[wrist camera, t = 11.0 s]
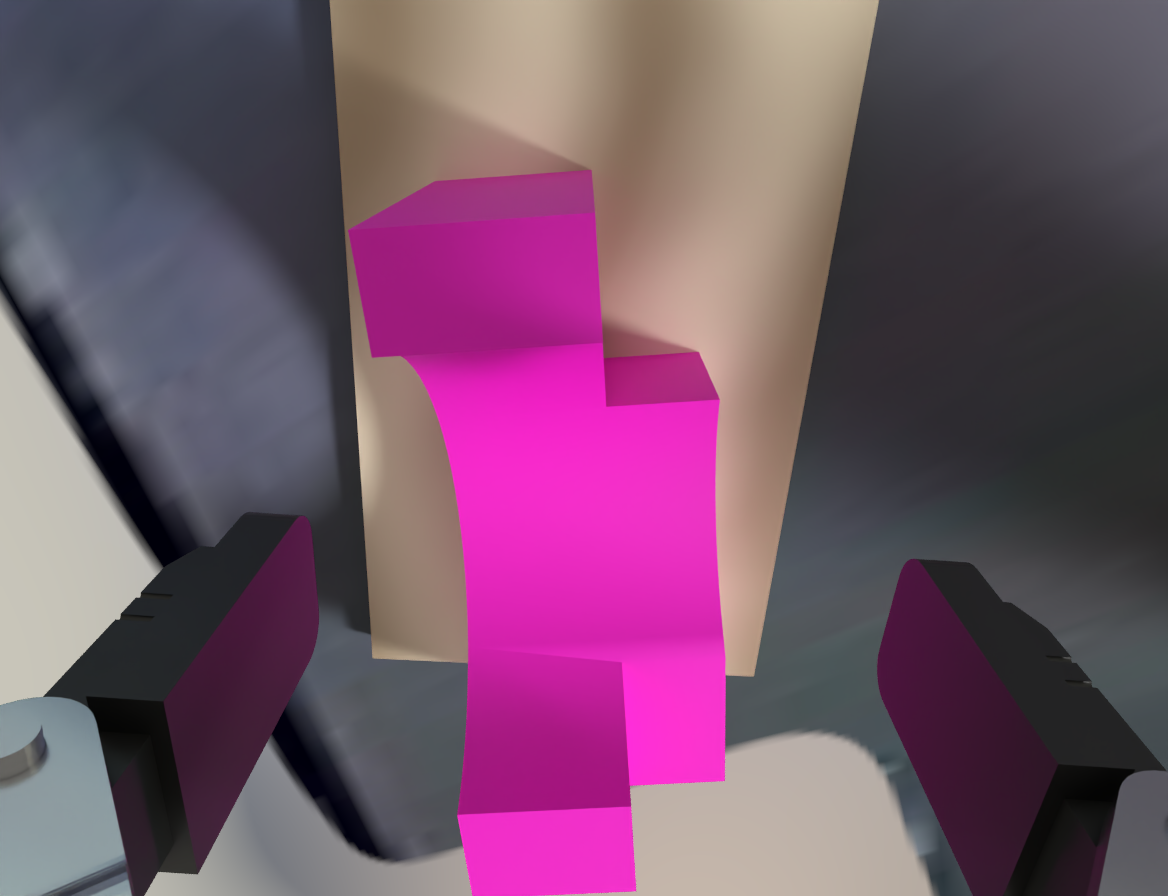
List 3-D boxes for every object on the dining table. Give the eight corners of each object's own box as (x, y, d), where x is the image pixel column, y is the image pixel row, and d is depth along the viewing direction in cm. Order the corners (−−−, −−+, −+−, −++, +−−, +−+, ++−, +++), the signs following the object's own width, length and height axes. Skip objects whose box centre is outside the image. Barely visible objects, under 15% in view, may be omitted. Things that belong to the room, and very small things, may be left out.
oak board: (875, -63, 17) (892, -71, 17) (747, 655, 26) (753, 676, 25) (336, -99, 17) (322, -110, 16) (380, 638, 25) (372, 658, 24)
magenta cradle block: (701, 666, 25) (746, 886, 18) (503, 677, 25) (473, 898, 18) (697, 162, 18) (762, 200, 12) (434, 180, 19) (348, 230, 12)
